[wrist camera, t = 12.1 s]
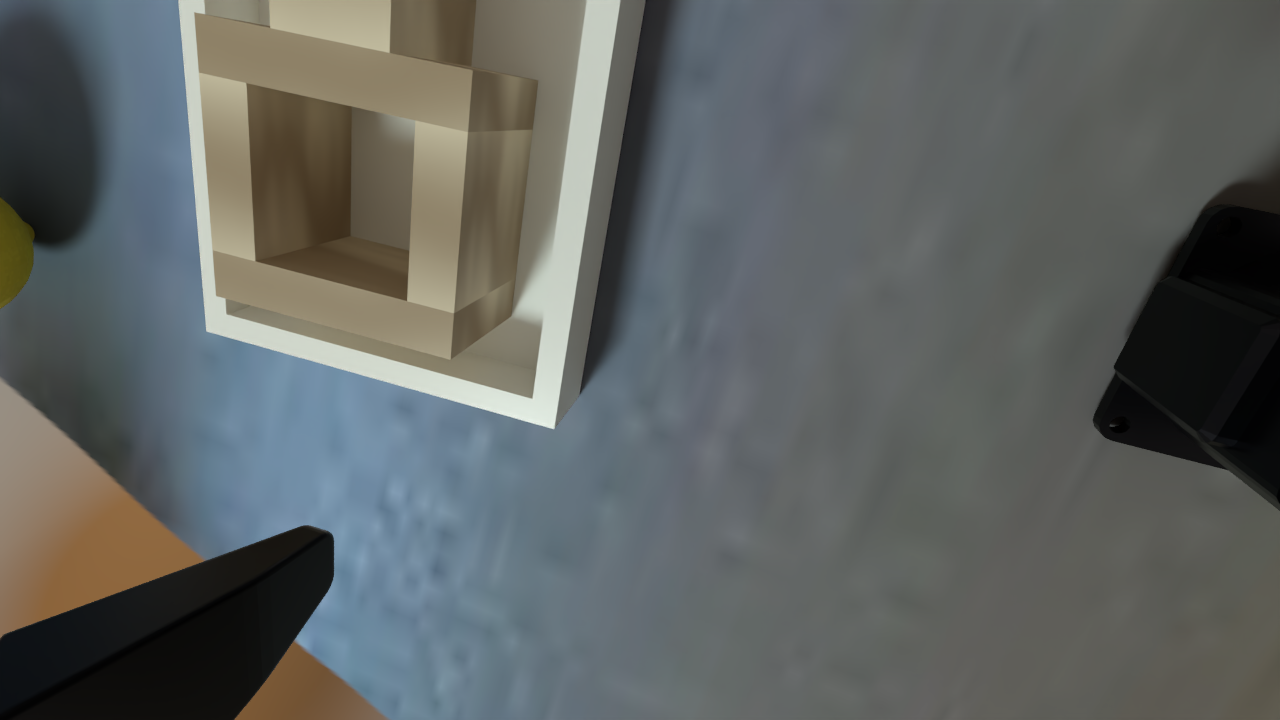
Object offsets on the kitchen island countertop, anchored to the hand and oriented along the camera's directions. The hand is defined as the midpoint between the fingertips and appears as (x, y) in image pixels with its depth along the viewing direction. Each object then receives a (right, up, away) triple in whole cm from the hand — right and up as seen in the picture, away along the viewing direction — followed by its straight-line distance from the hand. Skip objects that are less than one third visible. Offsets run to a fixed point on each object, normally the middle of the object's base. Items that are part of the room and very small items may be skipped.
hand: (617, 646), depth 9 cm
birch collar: (-6, +12, +9) cm, 16 cm away
